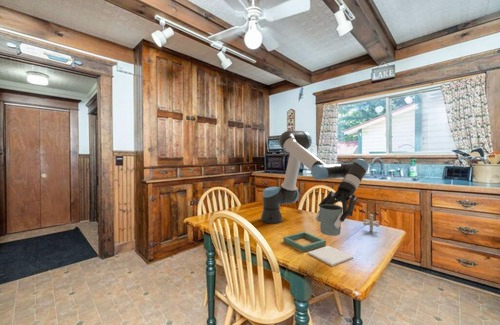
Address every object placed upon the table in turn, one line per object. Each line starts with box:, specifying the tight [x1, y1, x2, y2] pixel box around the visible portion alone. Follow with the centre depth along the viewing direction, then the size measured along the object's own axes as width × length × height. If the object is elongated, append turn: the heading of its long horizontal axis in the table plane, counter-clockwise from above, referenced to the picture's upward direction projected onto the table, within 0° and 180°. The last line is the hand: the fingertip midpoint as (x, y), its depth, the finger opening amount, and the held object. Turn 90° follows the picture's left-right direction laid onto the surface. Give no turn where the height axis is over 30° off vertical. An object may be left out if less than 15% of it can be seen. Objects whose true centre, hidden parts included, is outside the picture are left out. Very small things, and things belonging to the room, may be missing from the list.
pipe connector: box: [362, 214, 380, 232], centre depth 135 cm, size 10×10×10 cm
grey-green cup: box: [318, 204, 343, 237], centre depth 103 cm, size 10×10×12 cm
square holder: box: [282, 231, 327, 253], centre depth 119 cm, size 15×15×2 cm
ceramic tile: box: [307, 245, 354, 267], centre depth 104 cm, size 14×14×1 cm
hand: (326, 223), depth 102 cm, fingers closed on grey-green cup, 10 cm apart
